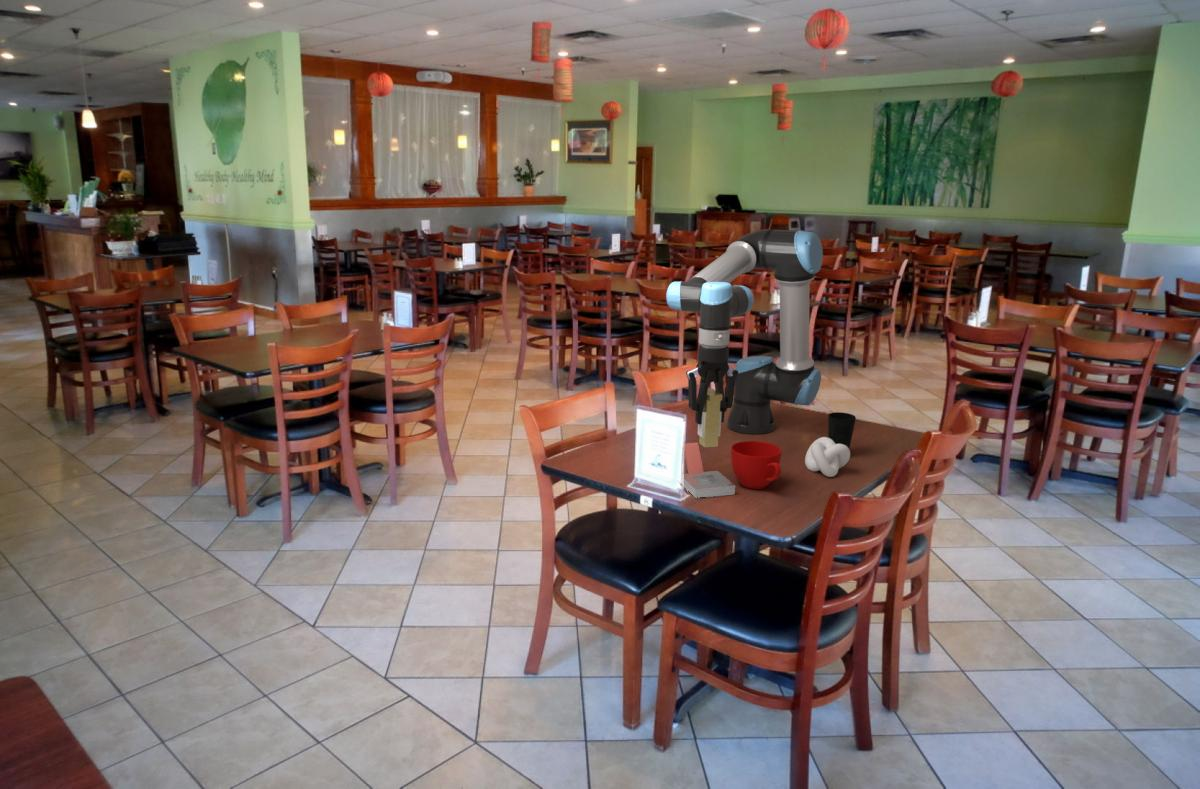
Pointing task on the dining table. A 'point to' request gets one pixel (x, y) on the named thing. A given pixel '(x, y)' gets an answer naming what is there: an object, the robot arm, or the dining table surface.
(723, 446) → the dining table surface
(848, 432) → the cup
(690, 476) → the socket block
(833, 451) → the white knot
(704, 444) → the khaki tall block
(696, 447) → the reddish flat block
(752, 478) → the ceramic cup
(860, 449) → the dining table surface
